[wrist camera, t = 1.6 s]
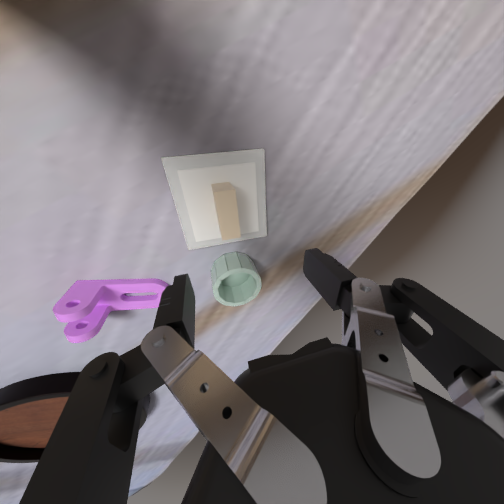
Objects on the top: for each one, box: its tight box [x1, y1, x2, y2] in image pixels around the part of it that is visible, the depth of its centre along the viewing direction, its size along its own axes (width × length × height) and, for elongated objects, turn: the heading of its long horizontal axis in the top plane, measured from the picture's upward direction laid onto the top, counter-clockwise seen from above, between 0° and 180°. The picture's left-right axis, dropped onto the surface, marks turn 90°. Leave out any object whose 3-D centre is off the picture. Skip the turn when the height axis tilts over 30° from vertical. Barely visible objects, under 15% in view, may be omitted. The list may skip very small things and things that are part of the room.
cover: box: [177, 162, 259, 242], centre depth 24 cm, size 10×10×6 cm
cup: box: [211, 252, 261, 306], centre depth 32 cm, size 8×8×5 cm
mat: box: [161, 148, 267, 250], centre depth 26 cm, size 13×13×1 cm
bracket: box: [53, 279, 169, 343], centre depth 28 cm, size 13×6×7 cm, turn 80°
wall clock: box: [0, 372, 150, 463], centre depth 41 cm, size 31×4×31 cm
